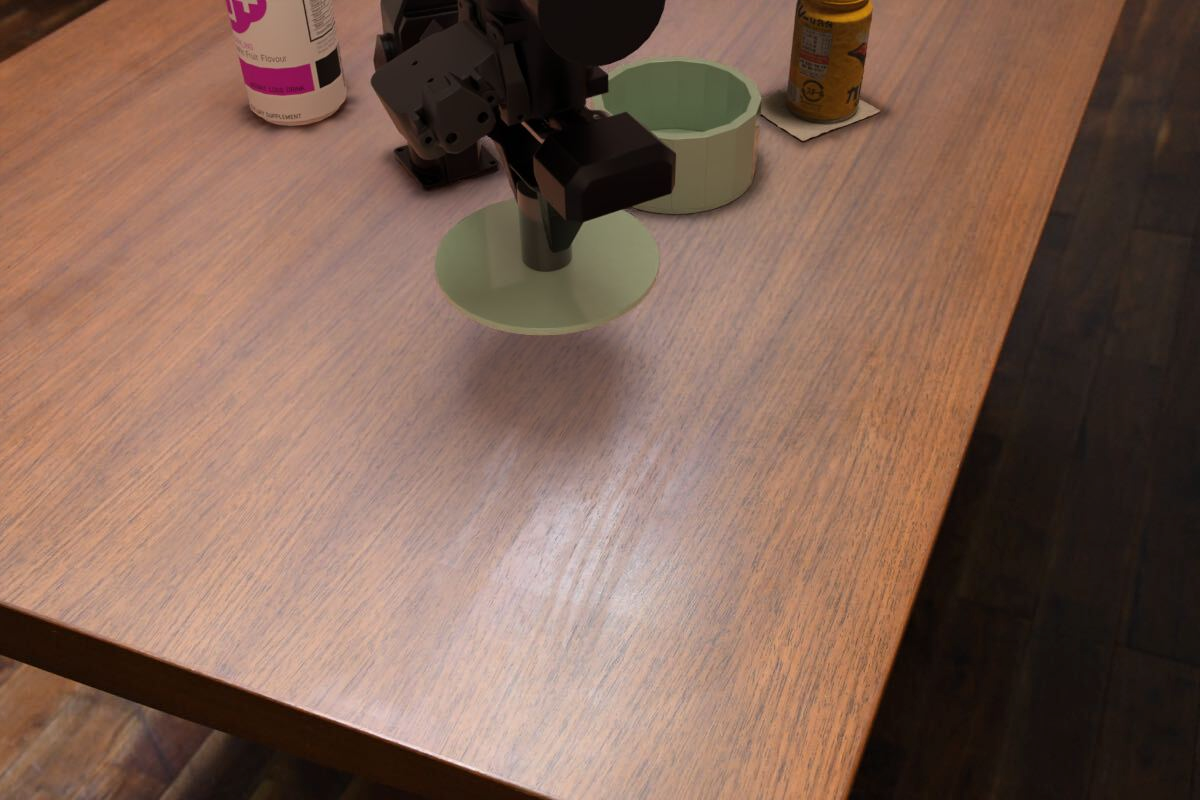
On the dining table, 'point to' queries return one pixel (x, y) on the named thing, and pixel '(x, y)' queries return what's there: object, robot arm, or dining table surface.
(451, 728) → the dining table surface
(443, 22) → the robot arm
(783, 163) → the dining table surface
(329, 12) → the supplement can
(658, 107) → the canister
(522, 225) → the lid
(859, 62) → the yellow drink can
